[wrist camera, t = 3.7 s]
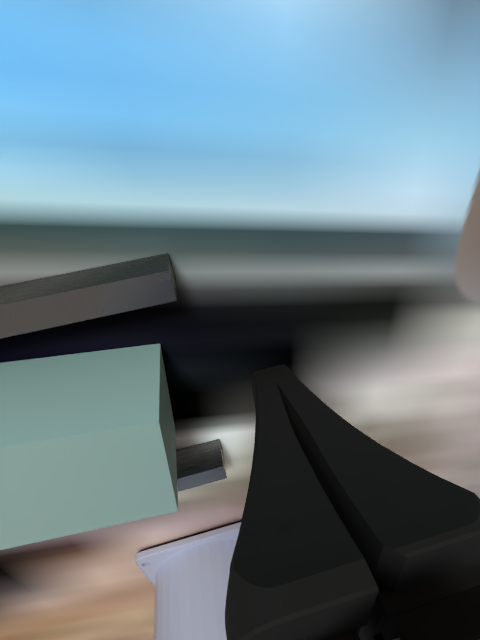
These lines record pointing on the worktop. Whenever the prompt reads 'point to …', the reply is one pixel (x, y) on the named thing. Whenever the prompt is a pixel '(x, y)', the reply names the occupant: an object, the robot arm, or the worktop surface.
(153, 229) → the worktop surface
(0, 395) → the painted block
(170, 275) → the chute
